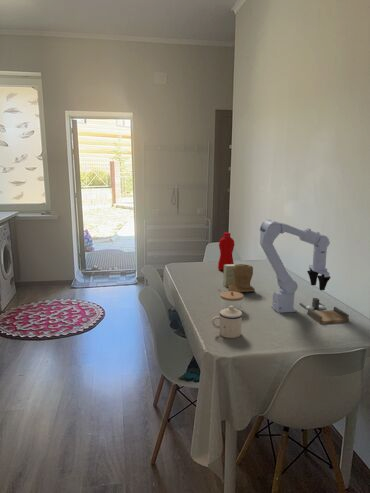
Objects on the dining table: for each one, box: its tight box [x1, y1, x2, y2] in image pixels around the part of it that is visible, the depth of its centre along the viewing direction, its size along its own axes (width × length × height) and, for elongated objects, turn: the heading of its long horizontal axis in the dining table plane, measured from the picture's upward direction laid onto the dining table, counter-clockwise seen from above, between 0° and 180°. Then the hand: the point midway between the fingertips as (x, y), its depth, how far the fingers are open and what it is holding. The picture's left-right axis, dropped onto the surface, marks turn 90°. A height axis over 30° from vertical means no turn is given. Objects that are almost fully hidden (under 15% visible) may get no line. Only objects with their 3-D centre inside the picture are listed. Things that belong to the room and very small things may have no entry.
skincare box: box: [222, 264, 236, 288], centre depth 210 cm, size 6×4×12 cm
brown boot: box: [228, 263, 256, 293], centre depth 201 cm, size 15×12×15 cm
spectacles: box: [299, 297, 326, 311], centre depth 180 cm, size 10×8×5 cm
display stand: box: [306, 306, 350, 325], centre depth 166 cm, size 14×11×3 cm
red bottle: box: [217, 232, 235, 272], centre depth 244 cm, size 9×11×25 cm
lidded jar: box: [220, 290, 245, 310], centre depth 173 cm, size 11×11×9 cm
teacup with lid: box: [211, 306, 243, 339], centre depth 148 cm, size 12×9×12 cm
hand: (317, 287), depth 176 cm, fingers open, 7 cm apart
